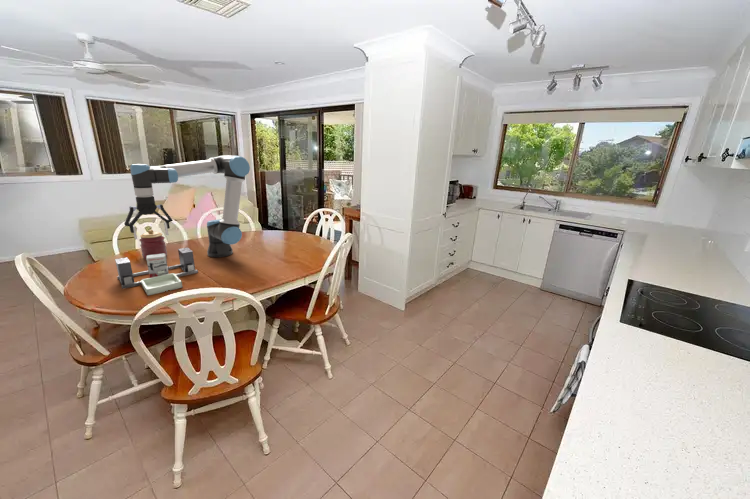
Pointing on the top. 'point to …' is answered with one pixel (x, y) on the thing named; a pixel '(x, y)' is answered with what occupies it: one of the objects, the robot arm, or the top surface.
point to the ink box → (156, 264)
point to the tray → (161, 283)
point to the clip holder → (185, 264)
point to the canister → (152, 243)
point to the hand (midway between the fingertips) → (152, 236)
